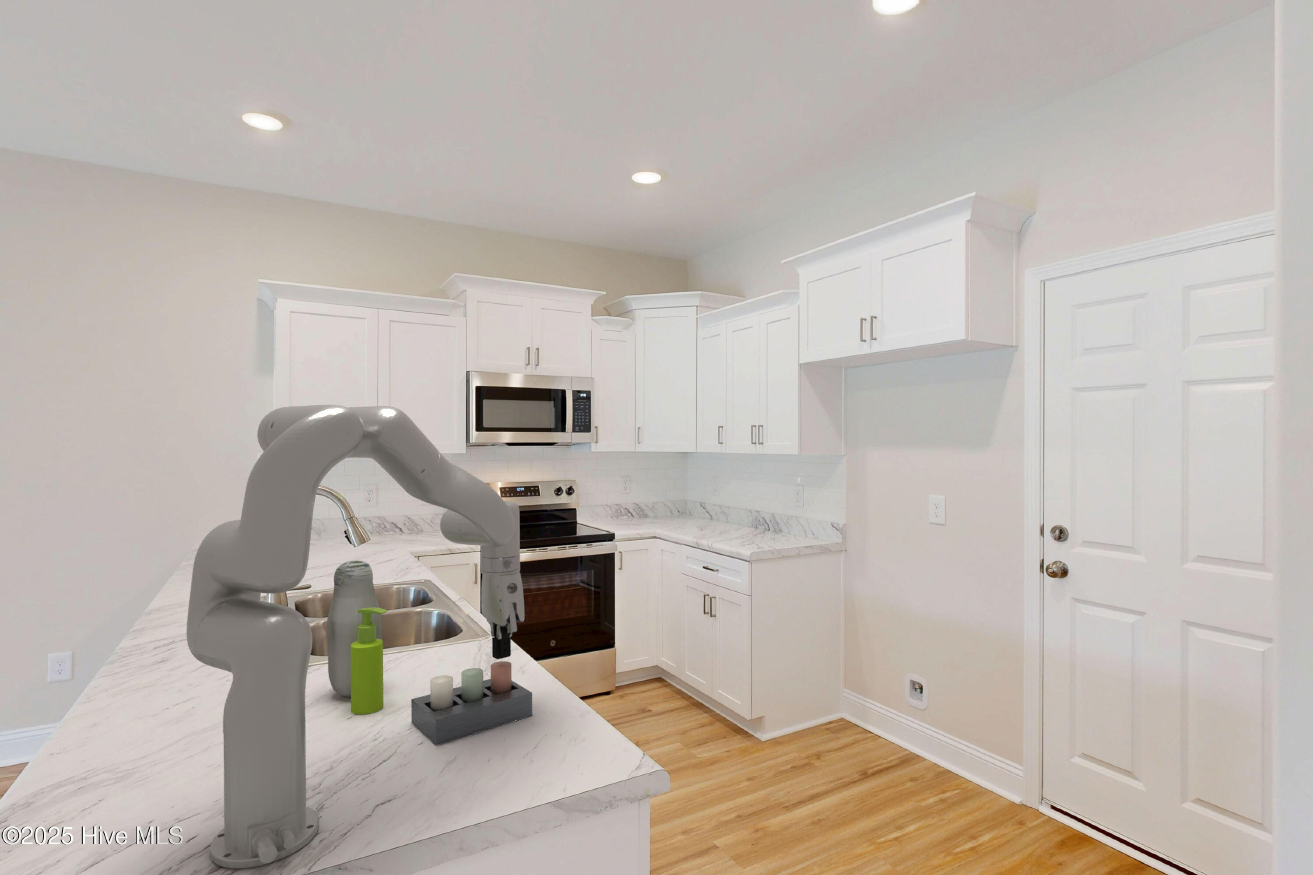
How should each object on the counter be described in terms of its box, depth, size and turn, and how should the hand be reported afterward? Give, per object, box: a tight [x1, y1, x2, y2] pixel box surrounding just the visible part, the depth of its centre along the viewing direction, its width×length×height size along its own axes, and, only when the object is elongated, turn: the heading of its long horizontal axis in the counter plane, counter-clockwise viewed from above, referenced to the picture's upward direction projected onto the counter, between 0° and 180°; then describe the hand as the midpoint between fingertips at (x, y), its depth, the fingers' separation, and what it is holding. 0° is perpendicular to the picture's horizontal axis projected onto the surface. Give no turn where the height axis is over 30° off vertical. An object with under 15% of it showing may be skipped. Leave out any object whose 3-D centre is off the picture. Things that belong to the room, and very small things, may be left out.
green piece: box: [460, 667, 484, 702], centre depth 127 cm, size 4×4×5 cm
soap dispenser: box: [350, 607, 388, 716], centre depth 133 cm, size 6×7×20 cm
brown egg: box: [490, 660, 513, 694], centre depth 131 cm, size 4×4×5 cm
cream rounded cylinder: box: [429, 674, 454, 711], centre depth 124 cm, size 4×4×5 cm
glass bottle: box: [326, 560, 383, 698], centre depth 140 cm, size 10×10×28 cm
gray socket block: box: [410, 678, 533, 746], centre depth 127 cm, size 12×19×4 cm, turn 130°
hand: (501, 656), depth 131 cm, fingers closed
